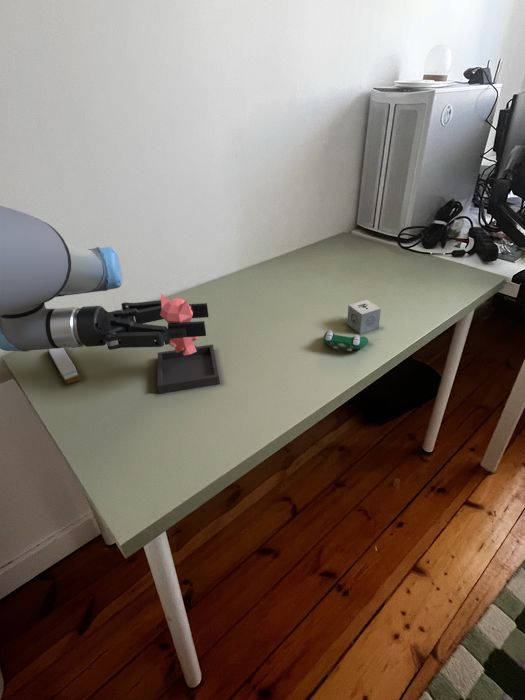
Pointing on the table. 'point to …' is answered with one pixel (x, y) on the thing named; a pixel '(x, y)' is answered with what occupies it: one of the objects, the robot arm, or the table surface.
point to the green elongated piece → (345, 341)
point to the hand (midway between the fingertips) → (206, 319)
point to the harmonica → (64, 365)
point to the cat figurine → (178, 313)
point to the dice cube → (363, 316)
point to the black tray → (187, 370)
